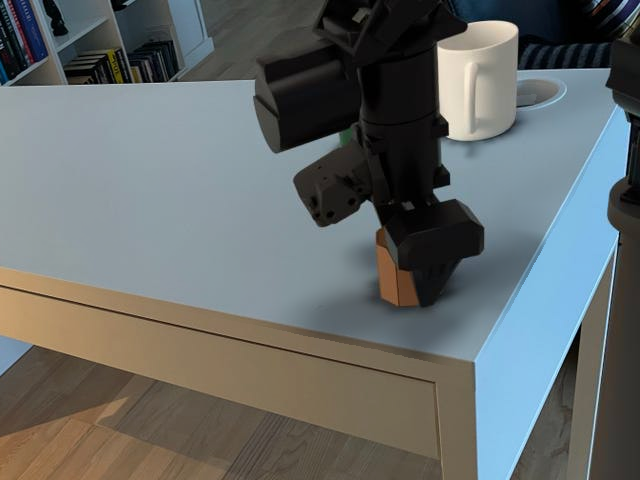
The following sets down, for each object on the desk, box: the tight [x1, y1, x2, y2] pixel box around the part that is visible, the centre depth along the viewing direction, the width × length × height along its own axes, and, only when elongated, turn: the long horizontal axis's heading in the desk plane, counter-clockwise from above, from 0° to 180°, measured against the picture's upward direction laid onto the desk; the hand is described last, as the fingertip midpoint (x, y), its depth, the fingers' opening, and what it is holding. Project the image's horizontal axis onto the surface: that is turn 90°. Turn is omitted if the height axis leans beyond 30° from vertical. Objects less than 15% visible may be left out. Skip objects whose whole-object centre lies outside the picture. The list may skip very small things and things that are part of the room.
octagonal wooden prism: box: [375, 226, 444, 307], centre depth 66 cm, size 5×5×6 cm
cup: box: [437, 20, 519, 142], centre depth 83 cm, size 8×12×10 cm
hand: (410, 278), depth 67 cm, fingers open, 8 cm apart
